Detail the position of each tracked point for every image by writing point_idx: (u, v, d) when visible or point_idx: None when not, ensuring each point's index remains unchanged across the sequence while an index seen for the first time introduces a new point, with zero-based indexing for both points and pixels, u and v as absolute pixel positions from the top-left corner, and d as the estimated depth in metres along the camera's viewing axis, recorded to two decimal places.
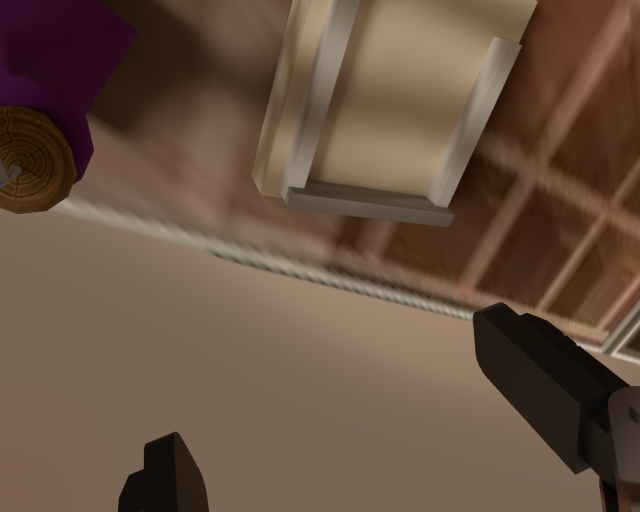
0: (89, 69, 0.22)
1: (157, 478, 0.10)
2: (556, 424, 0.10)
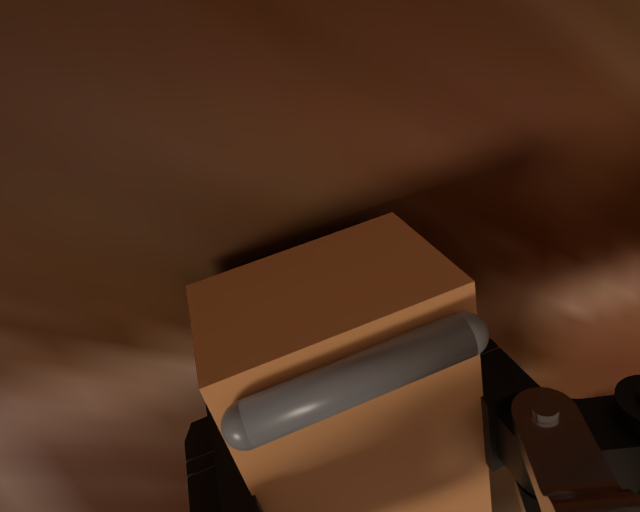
0: None
1: None
2: None
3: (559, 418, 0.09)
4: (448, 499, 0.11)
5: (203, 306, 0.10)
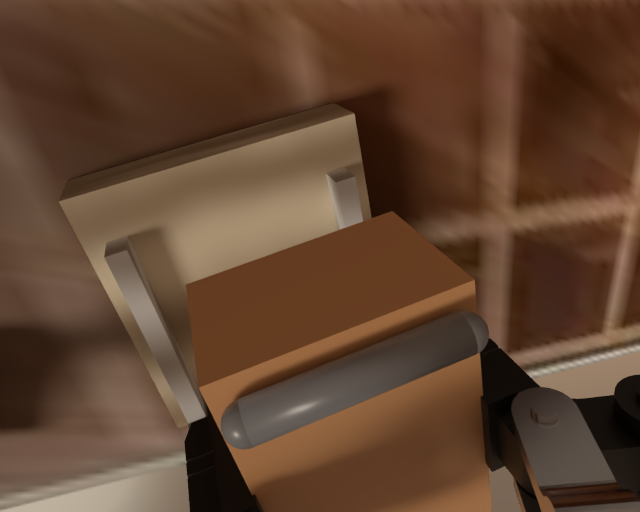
0: None
1: None
2: None
3: (559, 418, 0.09)
4: (448, 499, 0.11)
5: (203, 304, 0.10)
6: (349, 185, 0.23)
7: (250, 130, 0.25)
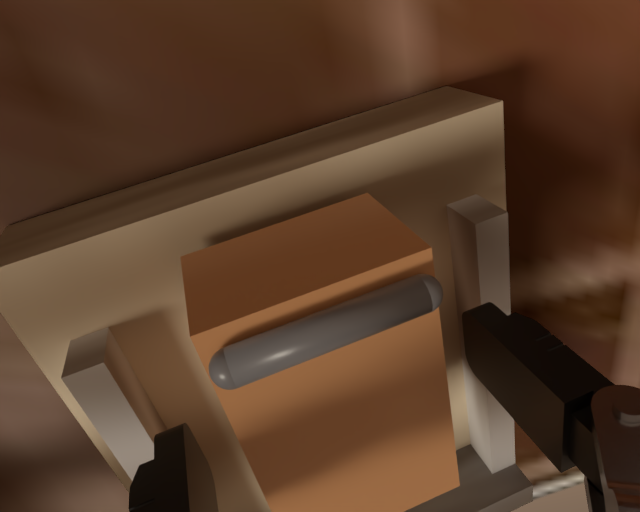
0: None
1: (167, 467, 0.10)
2: (542, 423, 0.11)
3: None
4: (416, 452, 0.13)
5: (194, 272, 0.11)
6: (496, 228, 0.13)
7: (315, 134, 0.15)
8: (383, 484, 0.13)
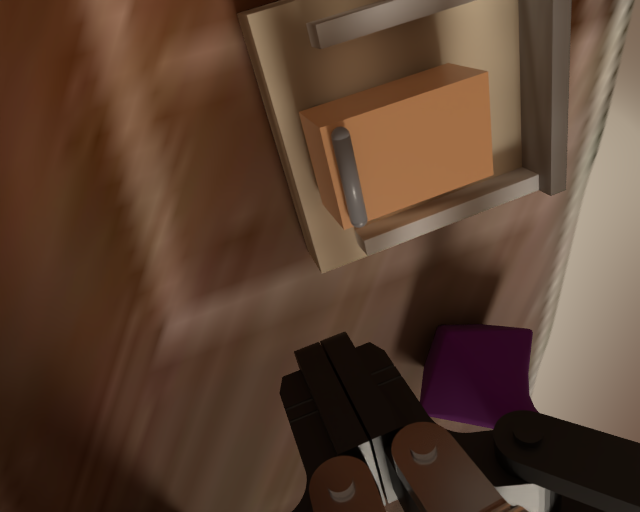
0: (486, 357, 0.33)
1: (317, 373, 0.12)
2: None
3: (434, 456, 0.09)
4: (446, 110, 0.22)
5: (327, 206, 0.25)
6: (325, 31, 0.21)
7: (268, 112, 0.26)
8: (461, 128, 0.22)
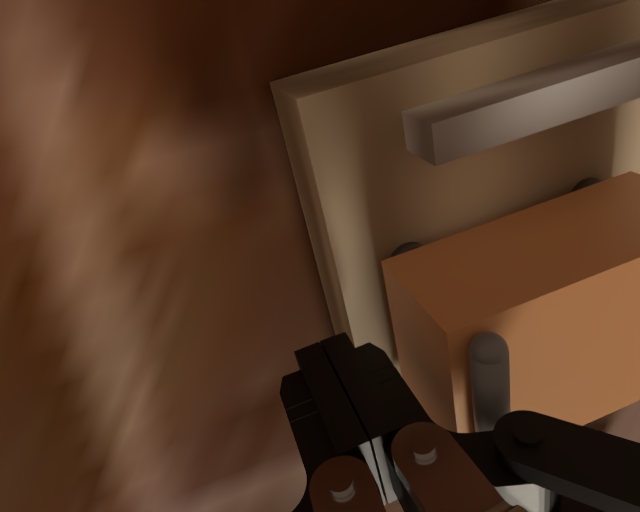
0: None
1: (317, 373, 0.12)
2: None
3: (434, 456, 0.09)
4: None
5: None
6: (447, 135, 0.11)
7: (313, 238, 0.15)
8: None
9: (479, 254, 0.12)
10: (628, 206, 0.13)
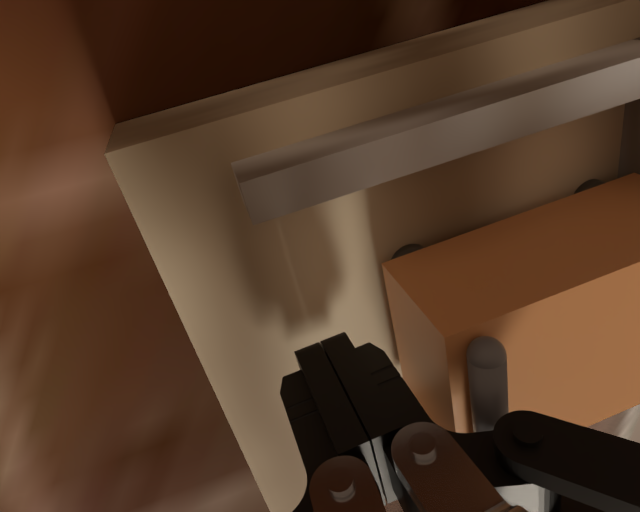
0: None
1: (317, 373, 0.12)
2: None
3: (434, 456, 0.09)
4: None
5: None
6: (261, 194, 0.10)
7: None
8: None
9: (479, 257, 0.12)
10: (630, 209, 0.13)
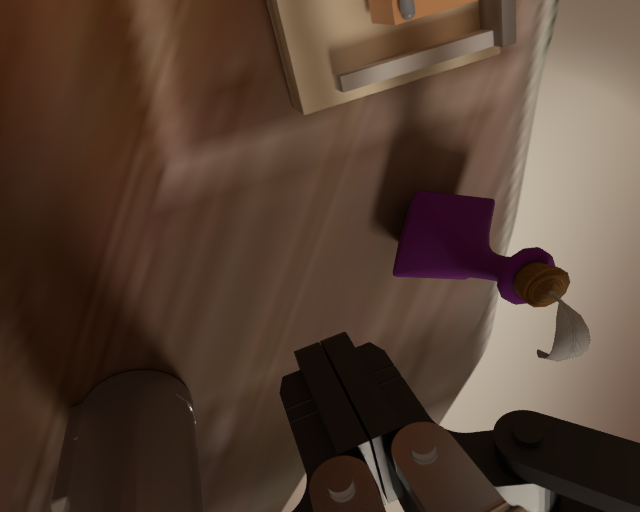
0: (451, 213, 0.37)
1: (317, 373, 0.12)
2: None
3: (434, 456, 0.09)
4: None
5: (377, 18, 0.30)
6: None
7: None
8: None
9: None
10: None
